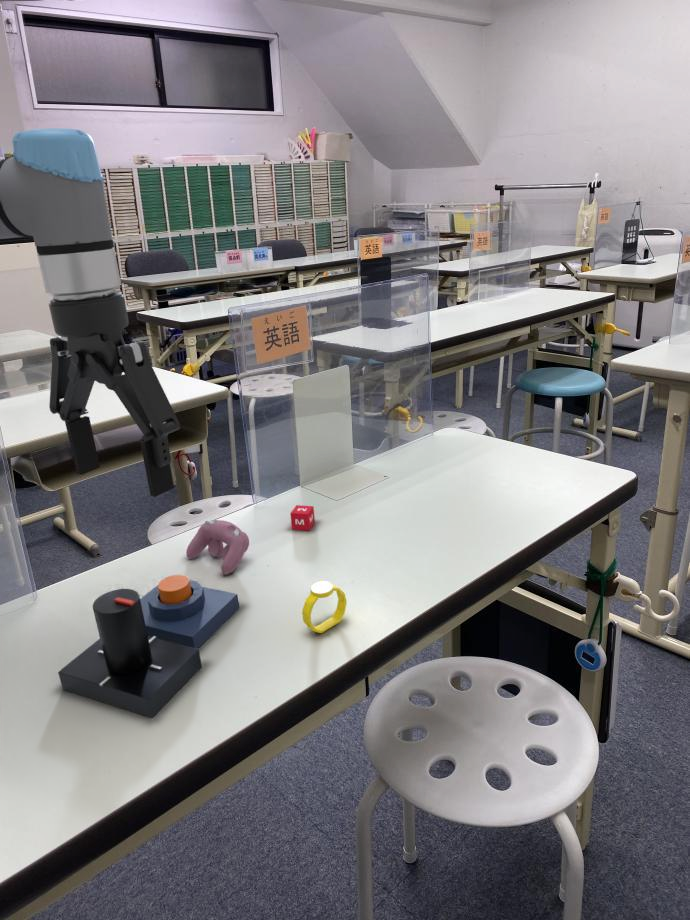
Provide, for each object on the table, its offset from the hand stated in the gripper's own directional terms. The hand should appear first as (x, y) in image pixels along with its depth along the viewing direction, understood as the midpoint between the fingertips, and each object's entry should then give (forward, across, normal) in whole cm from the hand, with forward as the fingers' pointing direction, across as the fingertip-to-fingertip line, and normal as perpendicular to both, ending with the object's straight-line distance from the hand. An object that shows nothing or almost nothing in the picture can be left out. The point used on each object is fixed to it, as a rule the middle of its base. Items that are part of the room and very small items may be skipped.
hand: (123, 481), depth 79 cm
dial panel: (+22, -4, +7) cm, 23 cm away
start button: (+18, 0, -4) cm, 18 cm away
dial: (+19, -4, +7) cm, 21 cm away
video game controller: (+22, +7, -18) cm, 29 cm away
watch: (+22, -18, -13) cm, 31 cm away
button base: (+22, 0, -4) cm, 22 cm away
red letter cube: (+22, +3, -33) cm, 40 cm away
